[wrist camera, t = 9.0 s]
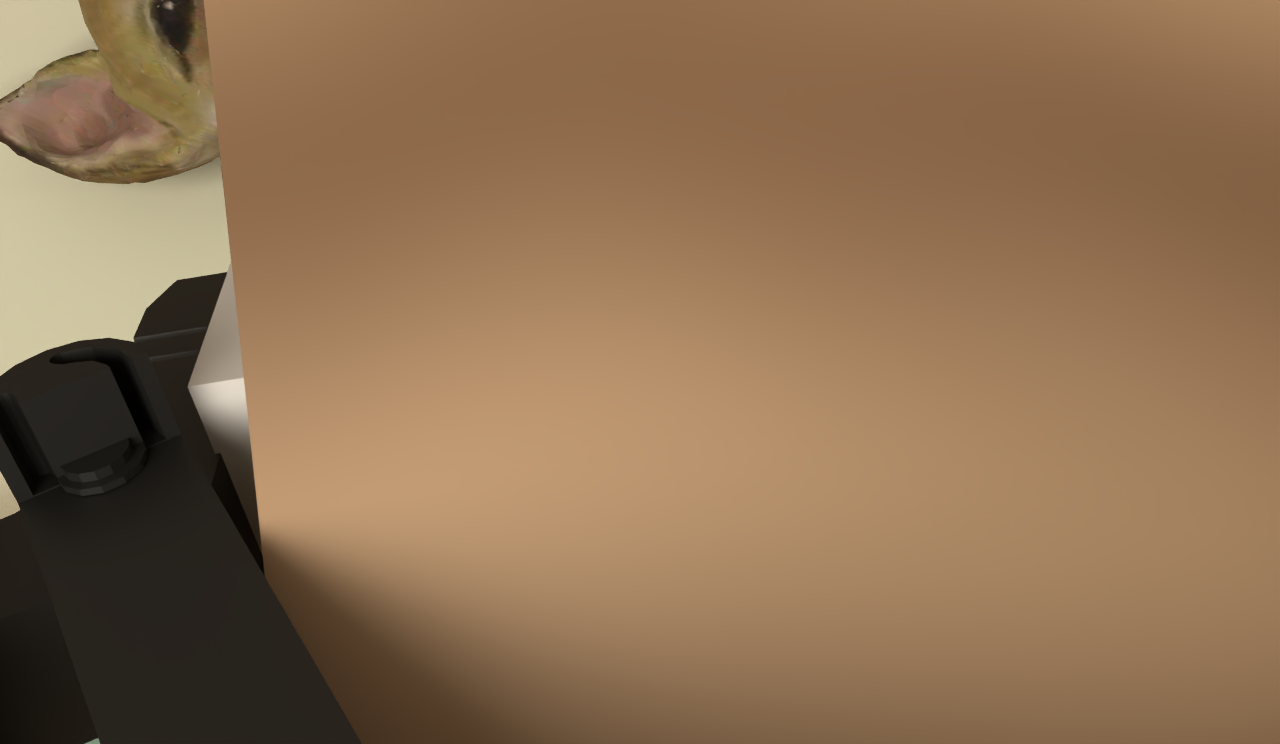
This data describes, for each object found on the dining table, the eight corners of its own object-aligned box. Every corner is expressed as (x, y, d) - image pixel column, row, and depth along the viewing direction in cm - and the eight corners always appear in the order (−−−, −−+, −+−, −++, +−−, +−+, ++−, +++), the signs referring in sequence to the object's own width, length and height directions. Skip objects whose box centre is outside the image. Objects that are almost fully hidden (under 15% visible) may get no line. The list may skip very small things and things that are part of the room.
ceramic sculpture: (428, 233, 24) (-217, 36, 26) (504, 336, 33) (12, 181, 35) (600, -219, 26) (-13, -373, 28) (630, -11, 35) (157, -141, 37)
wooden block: (1110, 653, 18) (1675, 726, 8) (500, 756, 18) (306, 960, 8) (980, 80, 19) (1316, -449, 10) (419, 169, 19) (174, -275, 9)
